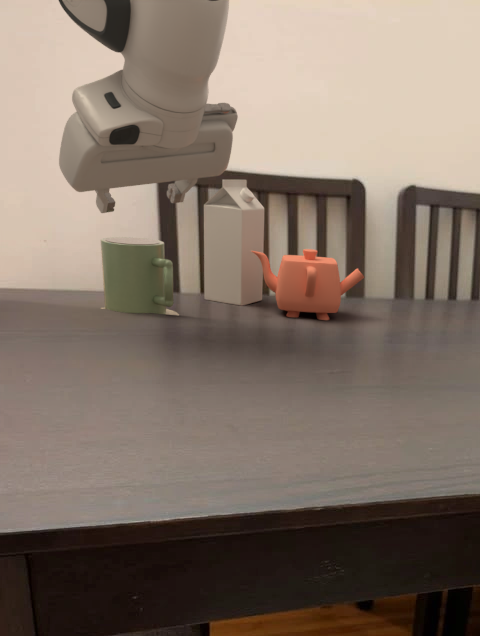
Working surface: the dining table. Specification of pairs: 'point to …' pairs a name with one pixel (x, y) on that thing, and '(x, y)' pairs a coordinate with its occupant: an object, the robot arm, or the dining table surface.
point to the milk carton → (233, 245)
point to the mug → (136, 276)
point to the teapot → (308, 283)
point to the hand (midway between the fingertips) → (140, 203)
